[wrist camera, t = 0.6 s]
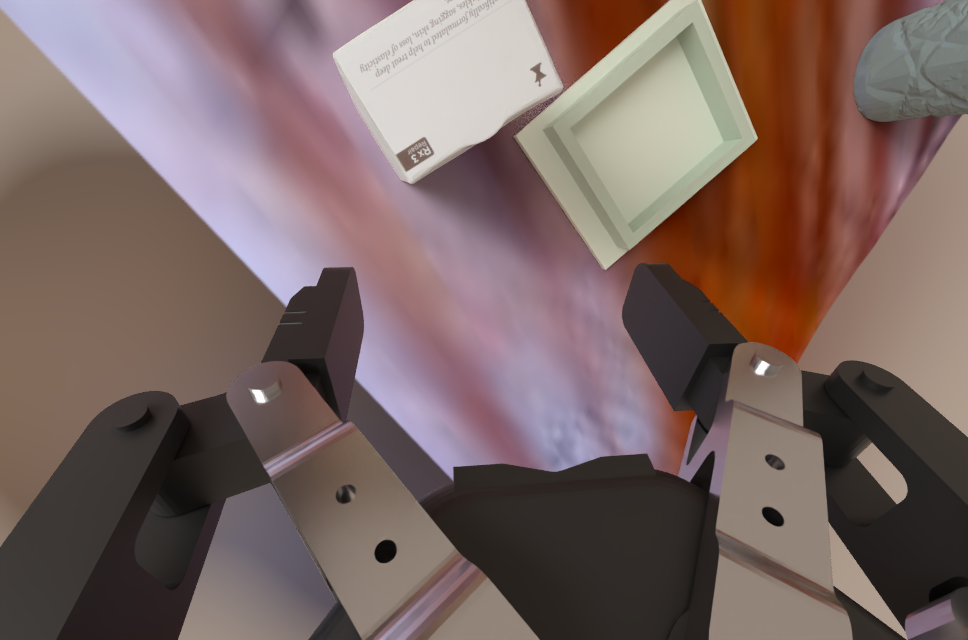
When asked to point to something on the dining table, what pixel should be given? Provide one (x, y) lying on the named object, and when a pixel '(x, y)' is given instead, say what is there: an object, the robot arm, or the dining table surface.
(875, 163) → the dining table surface
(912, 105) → the grey plant pot
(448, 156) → the skincare box
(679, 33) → the tray
